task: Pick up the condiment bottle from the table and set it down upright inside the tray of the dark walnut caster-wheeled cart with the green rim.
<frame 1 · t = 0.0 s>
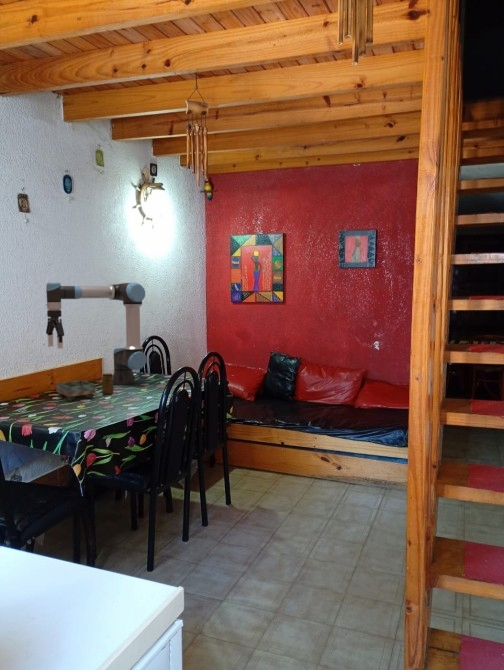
hand: (55, 347, 300), 28 cm above the table, fingers open, 13 cm apart
condiment: (108, 394, 308), on the table
cart: (76, 397, 298), on the table
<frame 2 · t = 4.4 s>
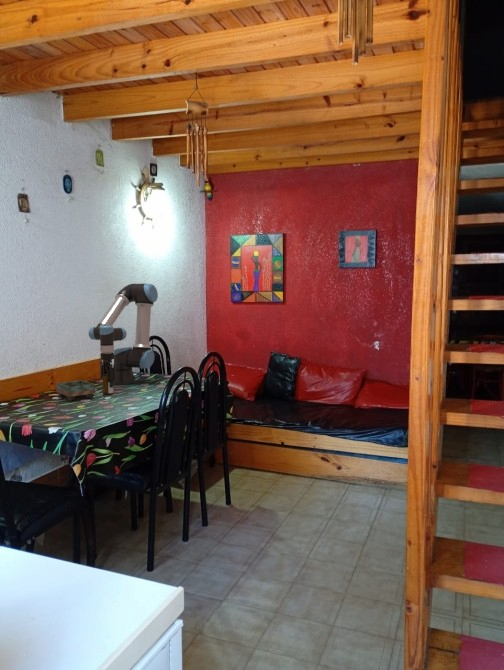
hand: (108, 392, 308), 1 cm above the table, fingers closed on condiment, 6 cm apart
condiment: (108, 395, 307), on the table, touching gripper
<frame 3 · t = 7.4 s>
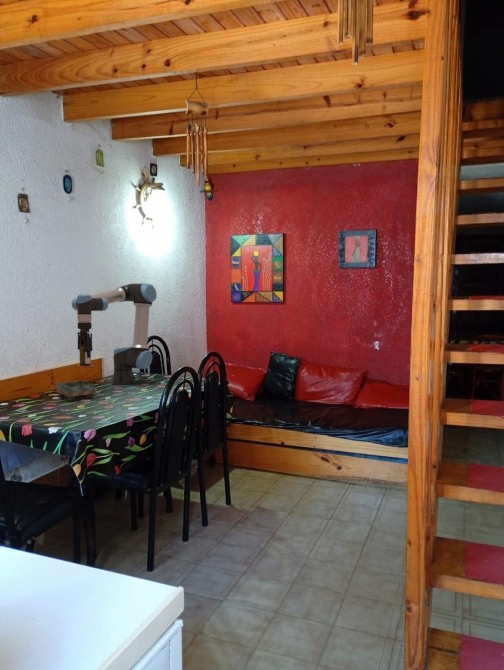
hand: (85, 362, 299), 19 cm above the table, fingers closed on condiment, 6 cm apart
condiment: (85, 365, 298), point 18 cm above the table, touching gripper
when the fingers open (9 cm above the table, at t = 10.4 s): condiment drops 2 cm, resting on cart.
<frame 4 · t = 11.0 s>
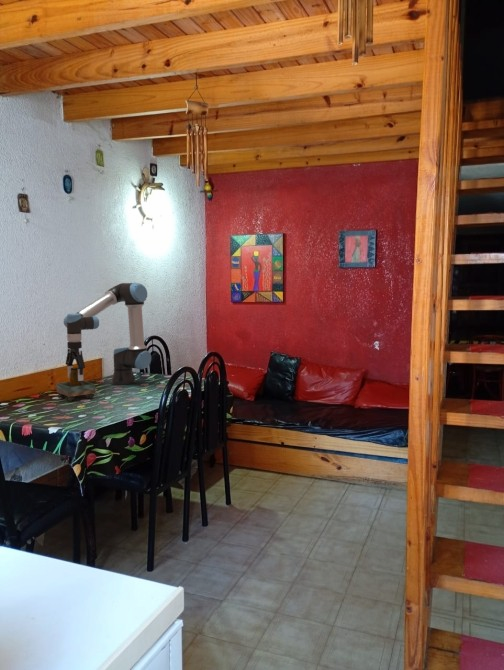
hand: (75, 379, 297), 11 cm above the table, fingers open, 13 cm apart
condiment: (76, 389, 297), point 5 cm above the table, touching cart
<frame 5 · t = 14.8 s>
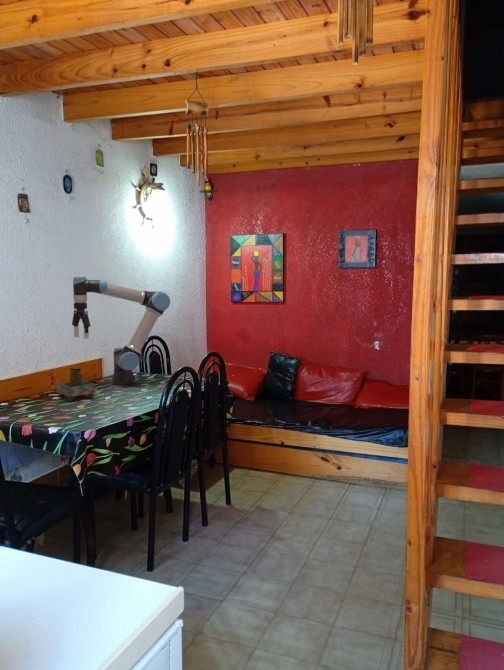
hand: (81, 337, 319), 32 cm above the table, fingers open, 13 cm apart
nothing on the table moved.
at the end: condiment inside the target area on the cart (1.0 cm from its centre), point 4.8 cm above the cart's base; condiment tilted 0°; the gripper is holding nothing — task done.
